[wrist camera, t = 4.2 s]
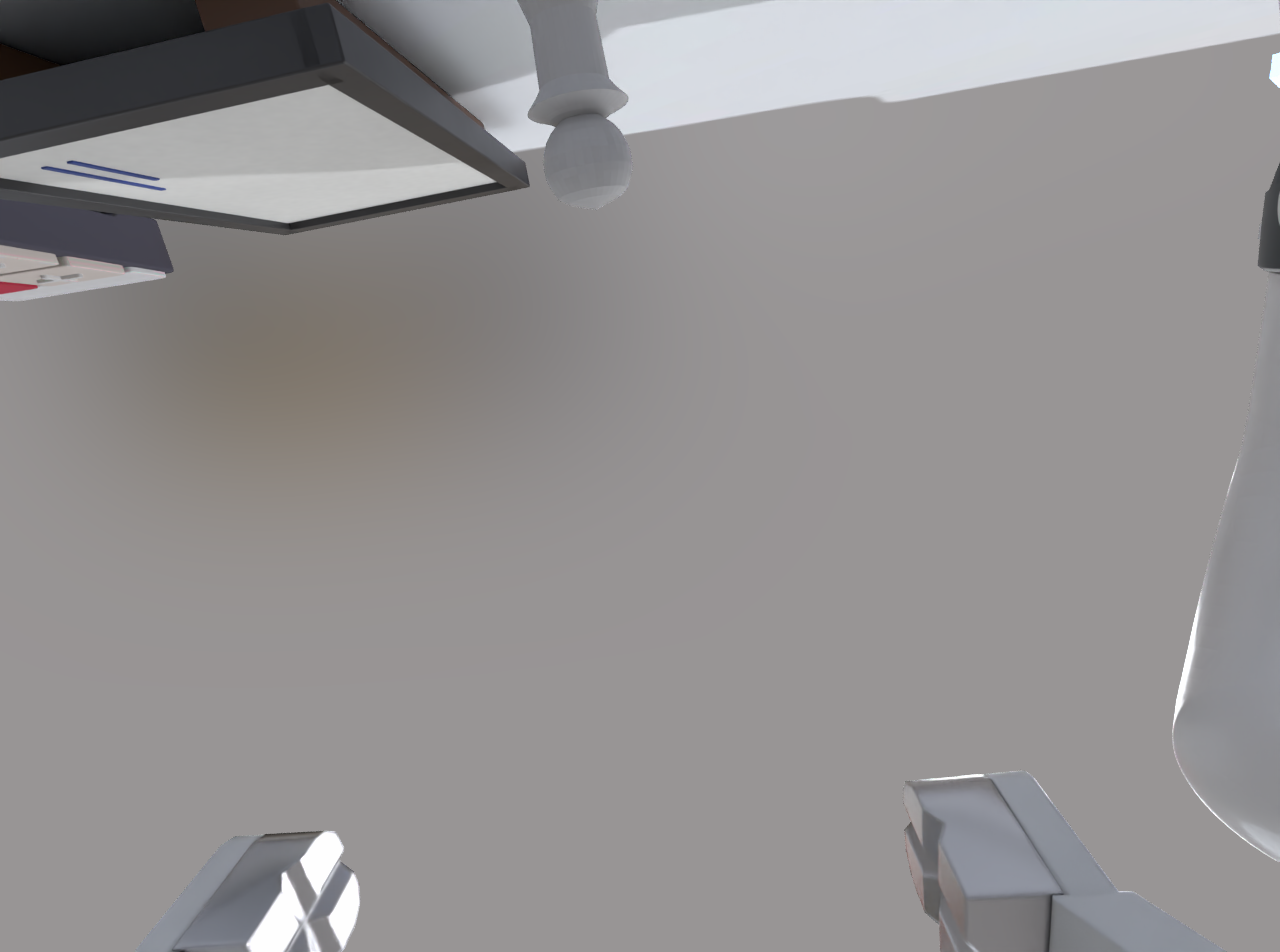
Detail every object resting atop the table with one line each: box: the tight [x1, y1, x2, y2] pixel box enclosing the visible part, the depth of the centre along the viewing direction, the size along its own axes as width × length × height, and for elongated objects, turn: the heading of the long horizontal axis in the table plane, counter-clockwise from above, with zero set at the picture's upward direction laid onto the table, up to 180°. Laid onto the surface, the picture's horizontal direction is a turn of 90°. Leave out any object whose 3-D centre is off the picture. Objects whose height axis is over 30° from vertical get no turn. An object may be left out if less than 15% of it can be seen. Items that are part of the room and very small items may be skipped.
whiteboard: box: [0, 0, 530, 235], centre depth 26 cm, size 16×21×3 cm
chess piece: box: [518, 0, 633, 210], centre depth 16 cm, size 5×5×8 cm
